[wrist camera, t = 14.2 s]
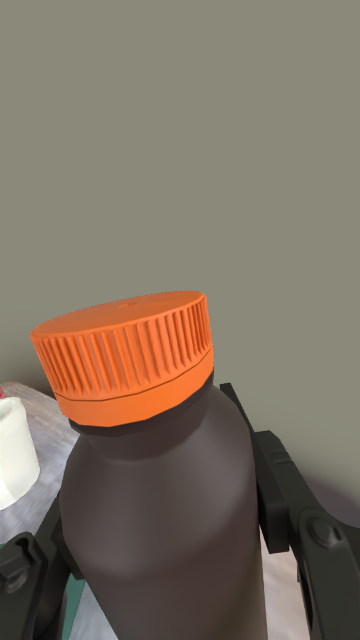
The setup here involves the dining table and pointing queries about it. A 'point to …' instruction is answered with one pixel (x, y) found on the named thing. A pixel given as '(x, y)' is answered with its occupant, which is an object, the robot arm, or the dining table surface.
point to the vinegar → (156, 471)
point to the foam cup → (15, 453)
